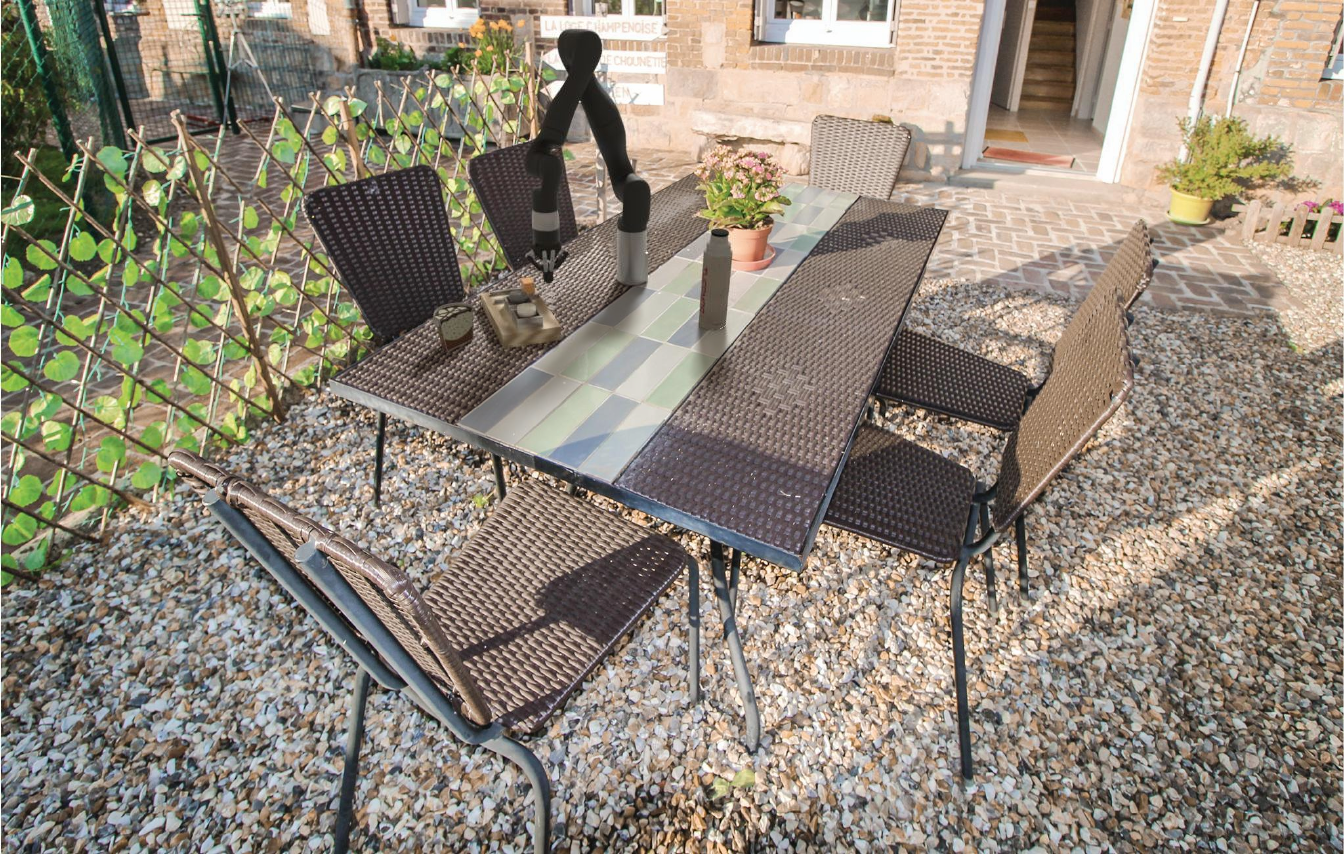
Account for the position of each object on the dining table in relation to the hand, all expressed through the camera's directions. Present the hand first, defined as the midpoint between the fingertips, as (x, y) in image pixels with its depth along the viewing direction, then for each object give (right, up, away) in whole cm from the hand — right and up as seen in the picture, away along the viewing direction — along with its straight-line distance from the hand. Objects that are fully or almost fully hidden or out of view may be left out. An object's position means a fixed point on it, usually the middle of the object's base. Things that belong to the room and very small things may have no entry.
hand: (548, 282), depth 219 cm
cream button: (-3, -12, -18) cm, 21 cm away
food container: (-23, -20, -18) cm, 35 cm away
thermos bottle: (+48, -13, -3) cm, 50 cm away
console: (-7, -13, -7) cm, 16 cm away
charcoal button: (-7, -7, -11) cm, 15 cm away
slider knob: (-6, -3, -1) cm, 7 cm away
